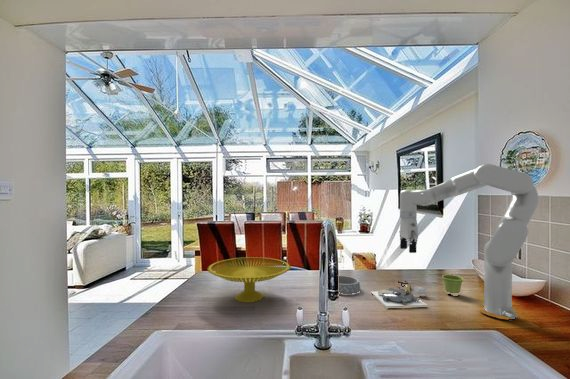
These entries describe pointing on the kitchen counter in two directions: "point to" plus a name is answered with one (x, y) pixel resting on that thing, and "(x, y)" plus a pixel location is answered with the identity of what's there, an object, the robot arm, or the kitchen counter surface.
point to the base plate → (396, 304)
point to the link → (420, 290)
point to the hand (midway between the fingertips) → (408, 250)
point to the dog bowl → (348, 285)
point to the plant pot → (452, 283)
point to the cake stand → (249, 275)
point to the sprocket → (398, 295)
